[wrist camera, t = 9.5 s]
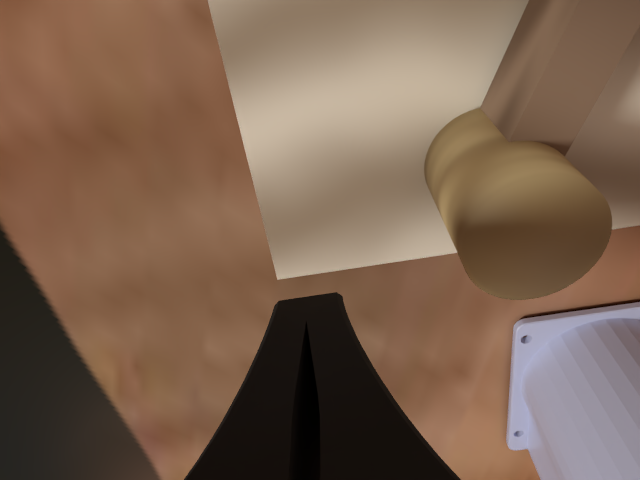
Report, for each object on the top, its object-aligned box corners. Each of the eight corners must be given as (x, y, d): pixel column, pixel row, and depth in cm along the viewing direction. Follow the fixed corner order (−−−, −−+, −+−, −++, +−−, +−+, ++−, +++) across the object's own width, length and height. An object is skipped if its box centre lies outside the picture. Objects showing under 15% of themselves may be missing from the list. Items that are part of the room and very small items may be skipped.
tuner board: (666, 203, 22) (684, 218, 21) (278, 262, 23) (277, 279, 22) (830, -495, 12) (879, -529, 11) (129, -349, 13) (115, -369, 12)
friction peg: (507, 222, 20) (563, 310, 16) (407, 199, 19) (439, 285, 15) (808, -328, 12) (1075, -438, 8) (659, -403, 11) (870, -568, 7)
